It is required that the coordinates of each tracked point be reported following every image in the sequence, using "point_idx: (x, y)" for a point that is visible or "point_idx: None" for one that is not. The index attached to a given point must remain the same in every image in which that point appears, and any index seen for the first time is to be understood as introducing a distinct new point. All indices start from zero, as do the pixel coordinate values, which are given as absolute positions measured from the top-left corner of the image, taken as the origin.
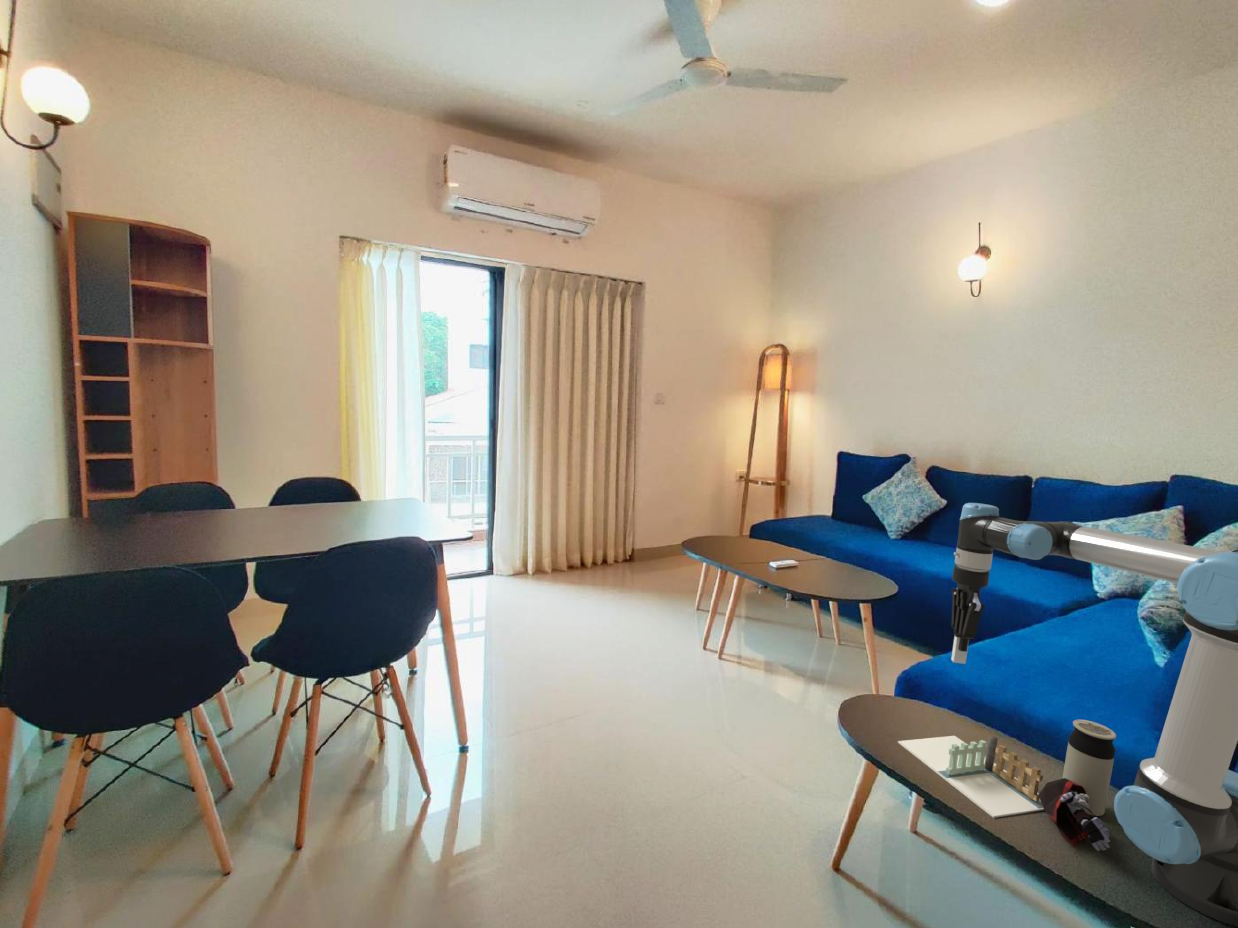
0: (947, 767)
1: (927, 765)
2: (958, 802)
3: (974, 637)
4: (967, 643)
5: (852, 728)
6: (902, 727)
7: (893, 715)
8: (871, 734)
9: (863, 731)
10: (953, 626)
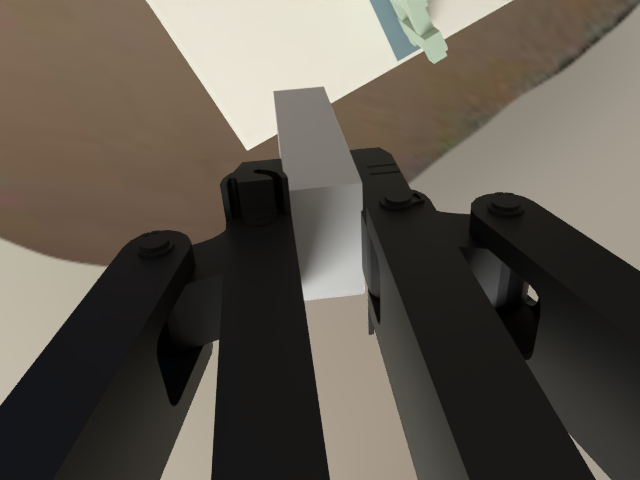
0: (414, 43)
1: (362, 83)
2: (537, 38)
3: (537, 204)
4: (407, 186)
5: None
6: (122, 113)
7: (36, 128)
8: None
9: None
10: (210, 346)
